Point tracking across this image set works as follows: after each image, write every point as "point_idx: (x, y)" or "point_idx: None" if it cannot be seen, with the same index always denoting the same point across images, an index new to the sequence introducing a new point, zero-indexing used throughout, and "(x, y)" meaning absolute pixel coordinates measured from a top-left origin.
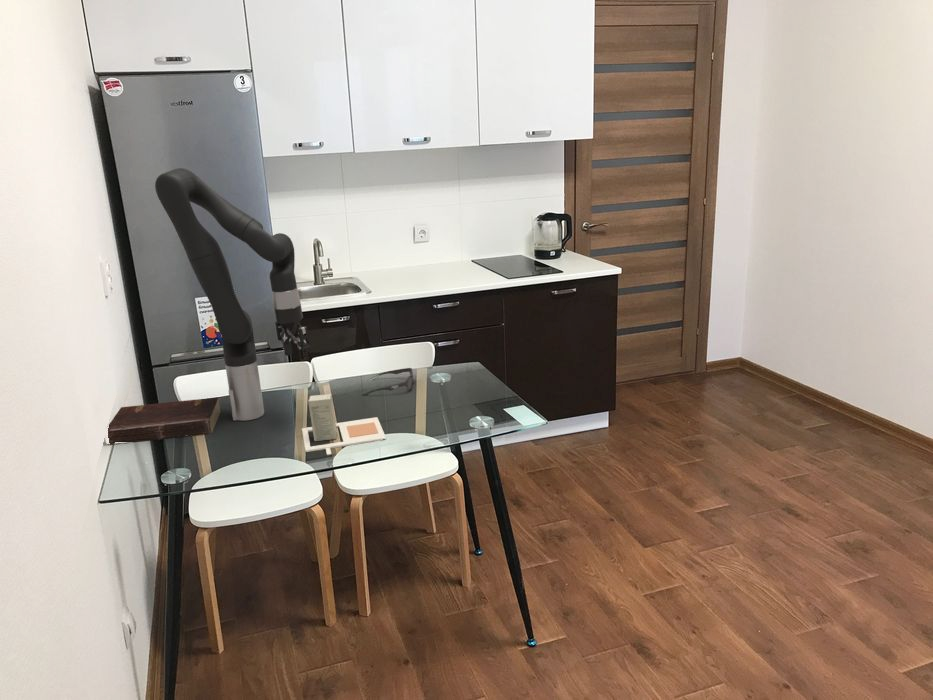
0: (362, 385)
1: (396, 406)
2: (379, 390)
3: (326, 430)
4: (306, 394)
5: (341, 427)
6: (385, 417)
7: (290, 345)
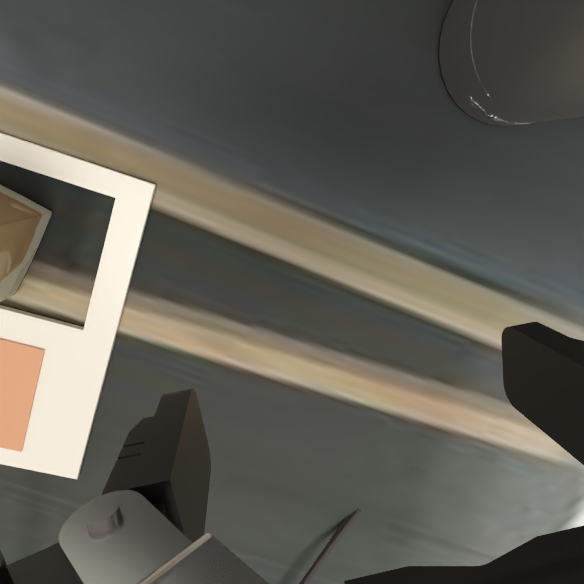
0: (447, 545)
1: None
2: (304, 577)
3: None
4: None
5: (53, 330)
6: (74, 501)
7: (581, 451)
